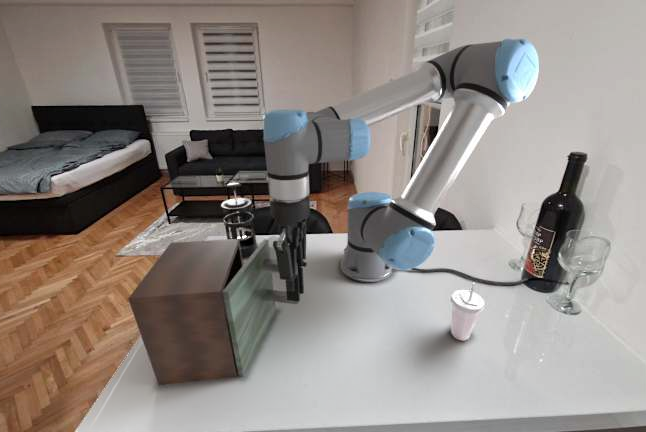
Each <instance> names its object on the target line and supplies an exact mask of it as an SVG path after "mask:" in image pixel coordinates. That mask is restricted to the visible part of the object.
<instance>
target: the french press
mask: <svg viewBox="0 0 646 432" xmlns="http://www.w3.org/2000/svg"><path fill="white" fill-rule="evenodd" d="M241 186H242V183H240V182H231V183H228V184H226V188H229V189H232V191H233V193H234V198H230V199H227V200H224V201H223V202H222V203H221V204H220V207H221V208H222V209H223V213H226V212H227V211H236V212H233V213H230V214H227V215H225V217H223V219H222V220H223V225H224V227H225V234H226V240H228V239H239V241H240V248H241V255H242V259H245V258H246V259H247V258H250V256H251V255H252V254H253V253H254V251H255V250H256V249H257V248H258V244H257V238H256V229H255V223H254V221H255V219H254V218H255V217H254V215H253V213H251V212H250V211H251V210H252V209H251V207H252V206H251V205H252V203H253V202H252V200H251V199H249V198H246V197H237V193H236V191H237V188H240V187H241ZM236 217H237V221H238V223H237V222H236V223H230V222H228V220H230V219H233V218H236ZM240 217H241V219H242V222H241V221H240ZM241 246H247V247H241Z"/></svg>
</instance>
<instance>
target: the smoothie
mask: <svg viewBox="0 0 646 432" xmlns="http://www.w3.org/2000/svg"><path fill="white" fill-rule="evenodd" d="M475 287H476V282H472V283H471V288H470V290H467V289H457V290H455V291H453V292H452V293H451V296H450V303H451V329H450V331H451V332H450V333H451V335H452V336H453V338H455V340H459V341H461V342H462V341H468V340H469V338H470V336H471V334H472V331H473V330H474V327H475V325H476V322H477V320H478V318H479V316H480V314H481V312H482V311H483V310H484V308H485V307H484V306H485V300H484V299H483V297H481V296H480V295H479V294H478V293H476V292H474V291H475Z"/></svg>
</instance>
